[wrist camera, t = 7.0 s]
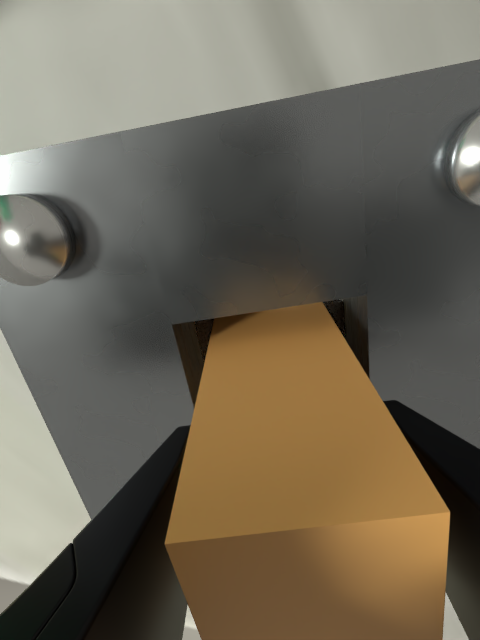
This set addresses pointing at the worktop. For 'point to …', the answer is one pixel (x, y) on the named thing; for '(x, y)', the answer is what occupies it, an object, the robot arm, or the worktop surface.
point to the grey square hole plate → (244, 256)
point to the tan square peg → (302, 494)
